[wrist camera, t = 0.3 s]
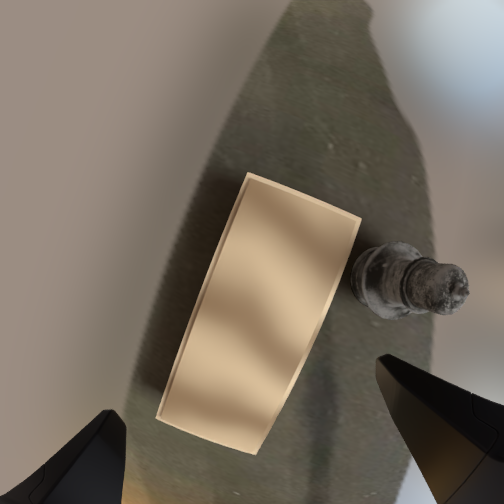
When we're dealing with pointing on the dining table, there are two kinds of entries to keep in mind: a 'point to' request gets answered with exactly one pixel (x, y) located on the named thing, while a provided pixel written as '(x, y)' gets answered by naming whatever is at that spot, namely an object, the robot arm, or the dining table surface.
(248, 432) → the tan wooden block
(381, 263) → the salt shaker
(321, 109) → the dining table surface
